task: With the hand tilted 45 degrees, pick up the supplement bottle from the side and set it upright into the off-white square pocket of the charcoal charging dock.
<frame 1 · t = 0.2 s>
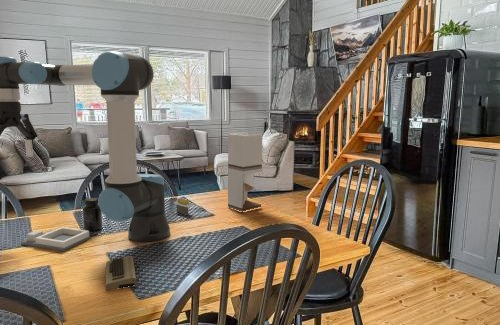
hand: (13, 158, 143), 28 cm above the table, tool pointing down, fingers open, 13 cm apart
supplement bottle: (93, 229, 150), on the table
charging dock: (56, 241, 136), on the table
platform: (183, 214, 172), on the table
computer: (120, 278, 111), on the table
notched beige pillar: (244, 208, 181), on the table
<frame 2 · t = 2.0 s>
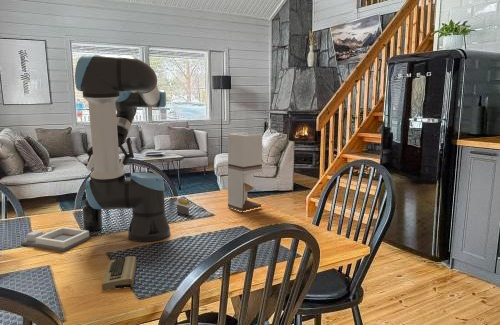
hand: (104, 169, 156), 21 cm above the table, tool tilted 45°, fingers open, 13 cm apart
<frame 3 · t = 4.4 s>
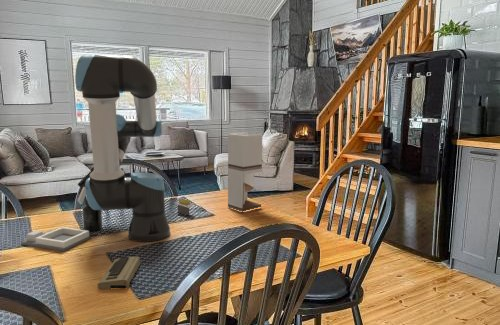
hand: (95, 203, 152), 9 cm above the table, tool tilted 45°, fingers open, 13 cm apart
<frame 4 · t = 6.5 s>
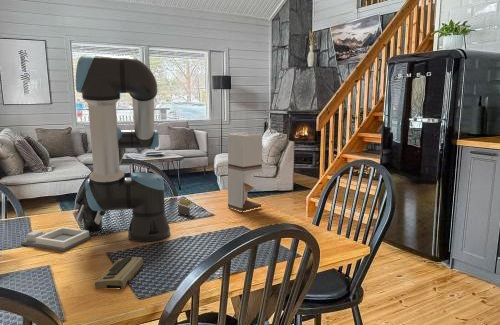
hand: (87, 222, 146), 4 cm above the table, tool tilted 45°, fingers closed on supplement bottle, 7 cm apart
supplement bottle: (93, 229, 150), on the table, touching gripper
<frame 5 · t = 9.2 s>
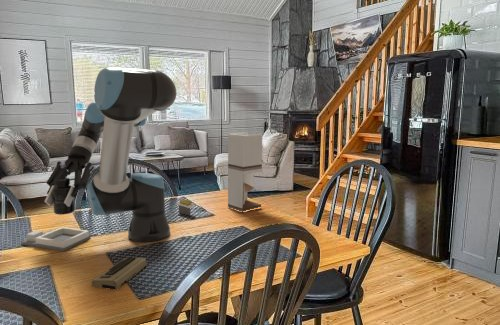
hand: (57, 203, 132), 14 cm above the table, tool tilted 45°, fingers closed on supplement bottle, 7 cm apart
supplement bottle: (64, 212, 136), point 10 cm above the table, touching gripper
when the fingers open (6 cm above the table, at t = 11.7 s): supplement bottle drops 1 cm, resting on charging dock.
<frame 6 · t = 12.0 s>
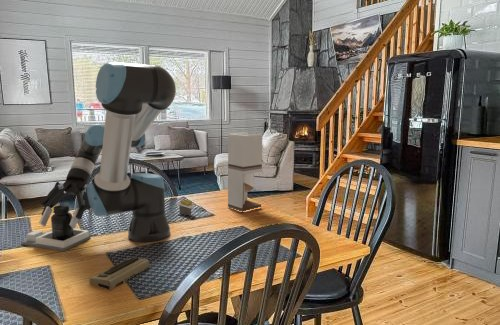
hand: (56, 225, 132), 7 cm above the table, tool tilted 45°, fingers open, 10 cm apart
supplement bottle: (63, 240, 135), point 1 cm above the table, touching charging dock
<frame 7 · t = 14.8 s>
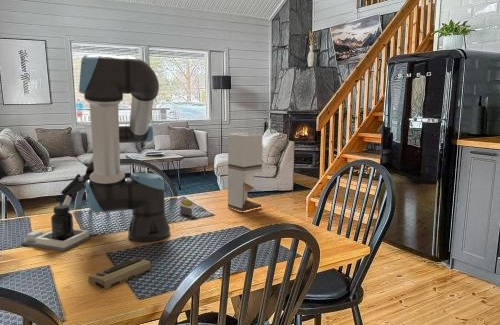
hand: (79, 212, 145), 8 cm above the table, tool tilted 45°, fingers open, 13 cm apart
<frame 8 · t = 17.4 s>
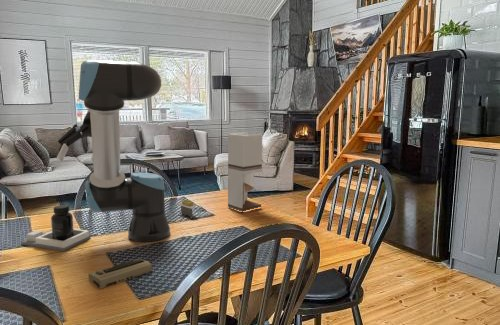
hand: (76, 160, 141), 28 cm above the table, tool tilted 45°, fingers open, 13 cm apart
at the end: supplement bottle 0.1 cm from the target spot on the charging dock, point 0.8 cm above the charging dock's base; supplement bottle tilted 0°; the gripper is holding nothing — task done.
